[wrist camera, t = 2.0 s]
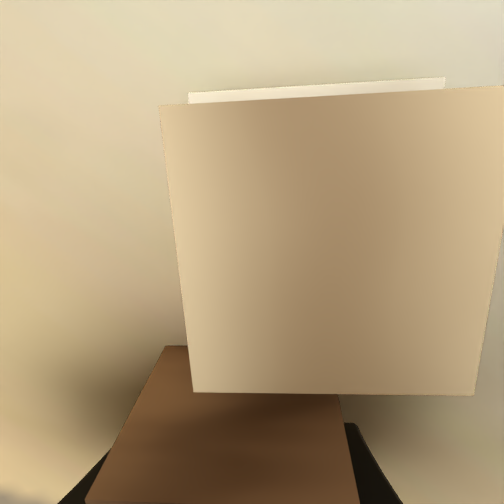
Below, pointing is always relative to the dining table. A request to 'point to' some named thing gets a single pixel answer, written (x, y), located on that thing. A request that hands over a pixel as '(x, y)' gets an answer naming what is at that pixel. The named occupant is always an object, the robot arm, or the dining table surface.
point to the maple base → (337, 239)
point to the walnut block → (225, 446)
